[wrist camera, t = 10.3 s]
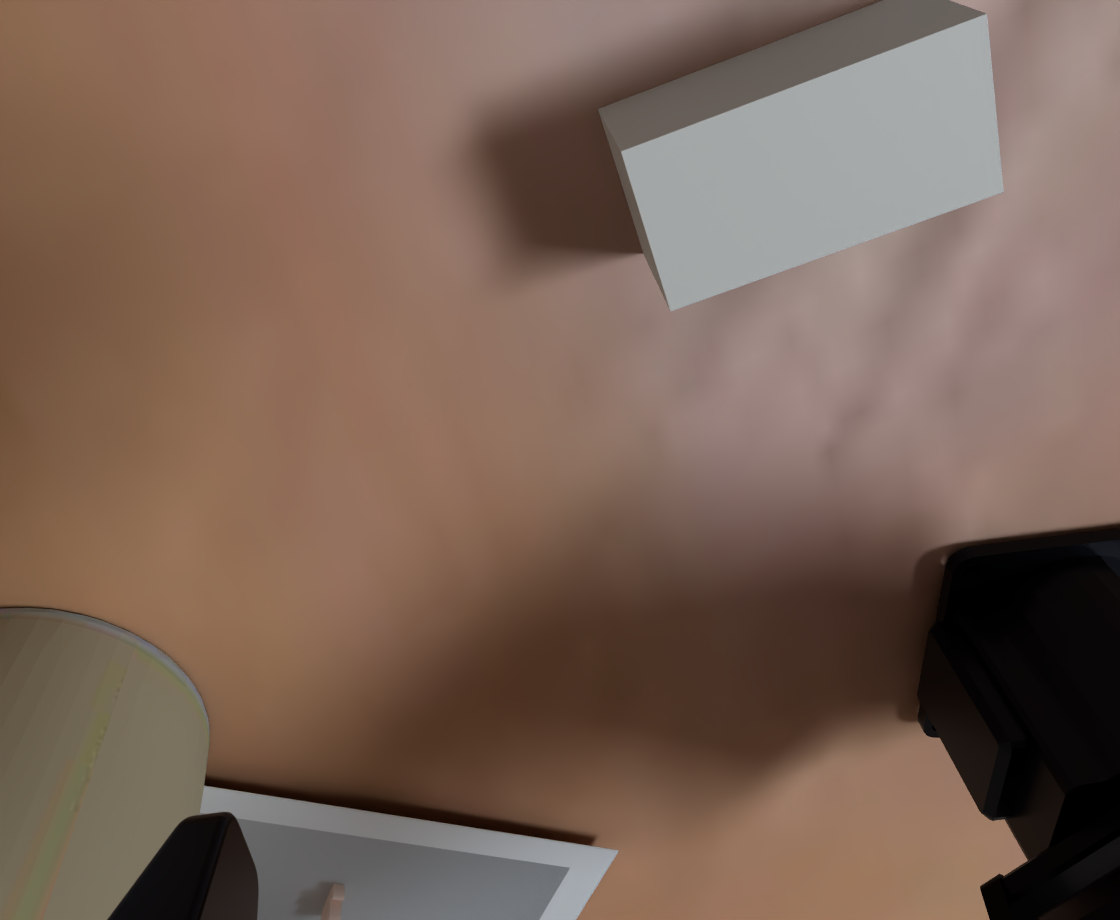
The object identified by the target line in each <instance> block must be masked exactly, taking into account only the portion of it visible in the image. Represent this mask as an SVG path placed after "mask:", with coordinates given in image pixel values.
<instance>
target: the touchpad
mask: <svg viewBox="0 0 1120 920" xmlns="http://www.w3.org/2000/svg"><path fill="white" fill-rule="evenodd" d="M218 812H230V813H232V814H233V815H234V816H235V817H236V819H237V820H238V823H239V825H240V828H241V830H242V833H243V835H244V838H245V841H246V843H247V846H248V848H249V851H250V854H251V856H252V859H253V861H254V864H255V867H256V870H257V875H258V885H259V898H258V915H257V920H576V919H577V917H578V916H579V914H580V912H581V911H582V909H583V908H584V906H585V904H586V903H587V901H588V900H589V898H590V896H591V895H592V893H593V892H594V890H595V888H596V887H597V885H598V884H599V882H600V880H601V879H602V877H603V876H604V874H605V872H606V871H607V869H608V868H609V866H610V864H611V863H612V861H613V860H614V858H615V856H616V855H617V853H618V852H619V850H614V849H608V848H602V847H595V846H589V845H582V844H576V843H569V842H563V841H557V840H550V839H544V838H537V837H531V836H525V835H518V834H512V833H505V832H499V831H492V830H486V829H480V828H473V827H467V826H460V825H454V824H447V823H441V822H435V821H428V820H422V819H415V818H409V817H403V816H396V815H390V814H383V813H377V812H370V811H364V810H358V809H351V808H345V807H338V806H332V805H326V804H319V803H313V802H306V801H300V800H293V799H287V798H281V797H274V796H268V795H261V794H255V793H248V792H242V791H236V790H229V789H223V788H216V787H210V786H204V790H203V796H202V802H201V808H200V815H202V814H210V813H218Z"/></svg>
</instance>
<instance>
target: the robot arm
mask: <svg viewBox="0 0 1120 920" xmlns="http://www.w3.org/2000/svg"><path fill="white" fill-rule="evenodd" d="M971 565H973V566H972V567H970V568H969V569H967V570H964V569H966V568H967V567H968V566H971ZM917 695H918V698H919V700H920V708H919V713H918V722H919V724H920V725H921V727H922V729H923V731H924V733H925V734H926V735H927V736H930V737H935V738H939V737H940V739H941V741H942V743H943V744H944V746H945V748H946V750H947V752H948V754H949V755H950V757H951V759H952V761H953V763H954V765H955V767H956V768H957V770H958V772H959V774H960V776H961V778H962V779H963V781H964V783H965V785H966V787H967V789H968V790H969V792H970V794H971V796H972V798H973V800H974V802H975V803H976V805H977V807H978V809H979V811H980V812H981V813H982V814H983V815H984V816H986V817H987V818H988V819H989V820H992V821H994V820H1002V819H1005V821H1006V823H1007V824H1008V826H1009V828H1010V830H1011V831H1012V833H1013V835H1014V837H1015V839H1016V840H1017V842H1018V844H1019V846H1020V847H1021V849H1022V851H1023V853H1024V854H1025V856H1026V858H1027V860H1028V861H1027V862H1025V863H1024V864H1022V865H1020V866H1019V867H1017V868H1016V869H1014V870H1013V871H1011V872H1010V873H1008V874H1006V875H1005V876H1003V875H1001V874H998V875H997V876H995V877H994V878H992V879H991V880H989V881H988V882H986V883H984V884H983V885H981V886H980V889H981V893H982V896H983V899H984V902H985V906H986V909H987V912H988V915H989V918H990V920H1120V529H1113V530H1105V531H1097V532H1088V533H1080V534H1071V535H1063V536H1055V537H1046V538H1038V539H1030V540H1021V541H1013V542H1005V543H996V544H988V545H980V546H971V547H966V548H962V549H960V550H958V551H956V552H955V553H953V554H952V555H951V556H950V557H949V559H948V561H947V563H946V566H945V572H944V577H943V582H942V588H941V593H940V599H939V604H938V610H937V615H936V621H935V622H934V624H933V625H932V627H931V628H930V630H929V632H928V637H927V643H926V648H925V654H924V660H923V665H922V671H921V676H920V682H919V687H918V693H917ZM258 898H259V885H258V875H257V870H256V867H255V864H254V861H253V859H252V856H251V854H250V851H249V848H248V846H247V843H246V841H245V838H244V835H243V833H242V830H241V828H240V825H239V823H238V820H237V819H236V817H235V816H234V815H233V814H232V813H230V812H218V813H210V814H202V815H194V816H190V817H187V818H186V819H184V820H183V821H181V822H180V823H179V824H178V825H177V826H176V828H175V829H174V830H173V832H172V833H171V834H170V836H169V837H168V838H167V840H166V841H165V842H164V844H163V845H162V846H161V848H160V849H159V850H158V852H157V853H156V855H155V856H154V857H153V859H152V860H151V861H150V863H149V864H148V865H147V867H146V868H145V869H144V871H143V872H142V873H141V875H140V876H139V877H138V879H137V880H136V881H135V883H134V884H133V885H132V887H131V888H130V890H129V891H128V892H127V894H126V895H125V896H124V898H123V899H122V900H121V902H120V903H119V904H118V906H117V907H116V908H115V910H114V911H113V912H112V914H111V915H110V916H109V918H108V919H107V920H257V915H258Z"/></svg>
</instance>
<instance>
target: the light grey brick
mask: <svg viewBox="0 0 1120 920" xmlns="http://www.w3.org/2000/svg"><path fill="white" fill-rule="evenodd" d="M598 111H599V115H600V118H601V121H602V124H603V127H604V130H605V134H606V137H607V140H608V143H609V146H610V149H611V153H612V156H613V159H614V162H615V165H616V168H617V172H618V175H619V178H620V181H621V184H622V187H623V191H624V194H625V197H626V200H627V203H628V206H629V210H630V213H631V216H632V219H633V222H634V226H635V229H636V232H637V235H638V238H639V241H640V245H641V248H642V251H643V254H644V256H645V258H646V260H647V262H648V265H649V267H650V269H651V271H652V273H653V275H654V277H655V279H656V282H657V284H658V286H659V288H660V290H661V292H662V294H663V297H664V299H665V301H666V303H667V305H668V307H669V309H670V311H673V310H676V309H679V308H681V307H684V306H687V305H690V304H693V303H695V302H698V301H701V300H704V299H707V298H709V297H712V296H715V295H718V294H721V293H723V292H726V291H729V290H732V289H734V288H737V287H740V286H743V285H746V284H748V283H751V282H754V281H757V280H760V279H762V278H765V277H768V276H771V275H774V274H776V273H779V272H782V271H785V270H787V269H790V268H793V267H796V266H799V265H801V264H804V263H807V262H810V261H813V260H815V259H818V258H821V257H824V256H826V255H829V254H832V253H835V252H838V251H840V250H843V249H846V248H849V247H852V246H854V245H857V244H860V243H863V242H866V241H868V240H871V239H874V238H877V237H879V236H882V235H885V234H888V233H891V232H893V231H896V230H899V229H902V228H905V227H907V226H910V225H913V224H916V223H919V222H921V221H924V220H927V219H930V218H932V217H935V216H938V215H941V214H944V213H946V212H949V211H952V210H955V209H958V208H960V207H963V206H966V205H969V204H972V203H974V202H977V201H980V200H983V199H985V198H988V197H991V196H994V195H997V194H999V193H1002V192H1003V181H1002V170H1001V160H1000V149H999V138H998V127H997V117H996V106H995V95H994V85H993V74H992V63H991V52H990V42H989V31H988V20H987V14H986V13H983V12H981V11H978V10H975V9H972V8H969V7H967V6H964V5H961V4H958V3H955V2H952V1H950V0H882V1H880V2H877V3H874V4H872V5H869V6H866V7H864V8H861V9H859V10H856V11H853V12H851V13H848V14H845V15H843V16H840V17H838V18H835V19H832V20H830V21H827V22H825V23H822V24H819V25H817V26H814V27H811V28H809V29H806V30H804V31H801V32H798V33H796V34H793V35H790V36H788V37H785V38H783V39H780V40H777V41H775V42H772V43H770V44H767V45H764V46H762V47H759V48H756V49H754V50H751V51H749V52H746V53H743V54H741V55H738V56H735V57H733V58H730V59H728V60H725V61H722V62H720V63H717V64H714V65H712V66H709V67H707V68H704V69H701V70H699V71H696V72H694V73H691V74H688V75H686V76H683V77H680V78H678V79H675V80H673V81H670V82H667V83H665V84H662V85H659V86H657V87H654V88H652V89H649V90H646V91H644V92H641V93H639V94H636V95H633V96H631V97H628V98H625V99H623V100H620V101H618V102H615V103H612V104H610V105H607V106H604V107H602V108H599V109H598Z"/></svg>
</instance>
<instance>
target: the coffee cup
mask: <svg viewBox="0 0 1120 920" xmlns="http://www.w3.org/2000/svg"><path fill="white" fill-rule="evenodd" d="M208 752H209V722H208V716H207V713H206V710H205V707H204V704H203V701H202V698H201V697H200V695H199V693H198V691H197V690H196V688H195V686H194V684H193V683H192V682H191V680H190V679H189V678H188V677H187V675H186V674H185V673H184V672H183V671H182V670H181V668H179V667H178V666H177V665H176V664H175V663H174V662H173V661H172V660H171V659H170V658H169V657H168V656H167V655H166V654H164V653H163V652H162V651H160V650H159V649H157V648H156V647H154V646H153V645H152V644H150V643H148V642H147V641H145V640H143V639H141V638H140V637H138V636H136V635H135V634H133V633H131V632H129V631H126V630H124V629H122V628H119V627H117V626H114V625H112V624H109V623H107V622H105V621H102V620H99V619H95V618H92V617H88V616H84V615H79V614H74V613H69V612H64V611H59V610H54V609H39V608H5V609H0V920H107V919H108V918H109V916H110V915H111V914H112V912H113V911H114V910H115V908H116V907H117V906H118V904H119V903H120V902H121V900H122V899H123V898H124V896H125V895H126V894H127V892H128V891H129V890H130V888H131V887H132V885H133V884H134V883H135V881H136V880H137V879H138V877H139V876H140V875H141V873H142V872H143V871H144V869H145V868H146V867H147V865H148V864H149V863H150V861H151V860H152V859H153V857H154V856H155V855H156V853H157V852H158V850H159V849H160V848H161V846H162V845H163V844H164V842H165V841H166V840H167V838H168V837H169V836H170V834H171V833H172V832H173V830H174V829H175V828H176V826H177V825H178V824H179V823H180V822H181V821H183V820H184V819H186V818H187V817H190V816H194V815H200V808H201V802H202V796H203V790H204V782H205V775H206V767H207V759H208Z"/></svg>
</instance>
